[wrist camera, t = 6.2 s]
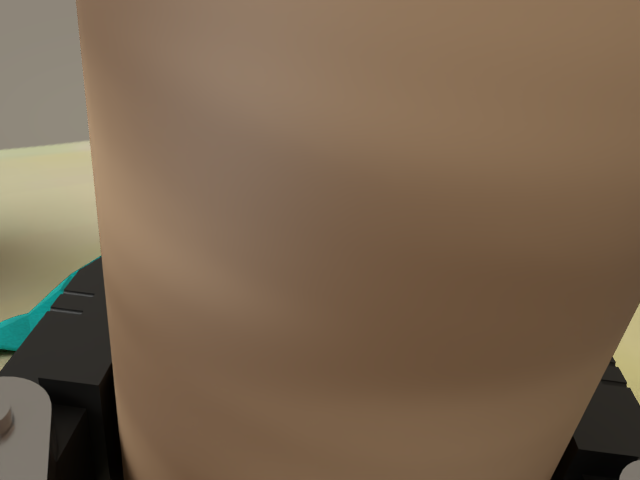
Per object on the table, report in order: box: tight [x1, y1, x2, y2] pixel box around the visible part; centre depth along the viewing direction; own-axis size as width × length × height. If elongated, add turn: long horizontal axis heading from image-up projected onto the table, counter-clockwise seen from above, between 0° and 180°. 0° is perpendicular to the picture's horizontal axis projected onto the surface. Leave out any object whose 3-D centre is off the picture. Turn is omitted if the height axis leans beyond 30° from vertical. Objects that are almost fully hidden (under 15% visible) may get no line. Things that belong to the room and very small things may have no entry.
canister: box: [76, 0, 640, 480], centre depth 9 cm, size 6×6×16 cm
